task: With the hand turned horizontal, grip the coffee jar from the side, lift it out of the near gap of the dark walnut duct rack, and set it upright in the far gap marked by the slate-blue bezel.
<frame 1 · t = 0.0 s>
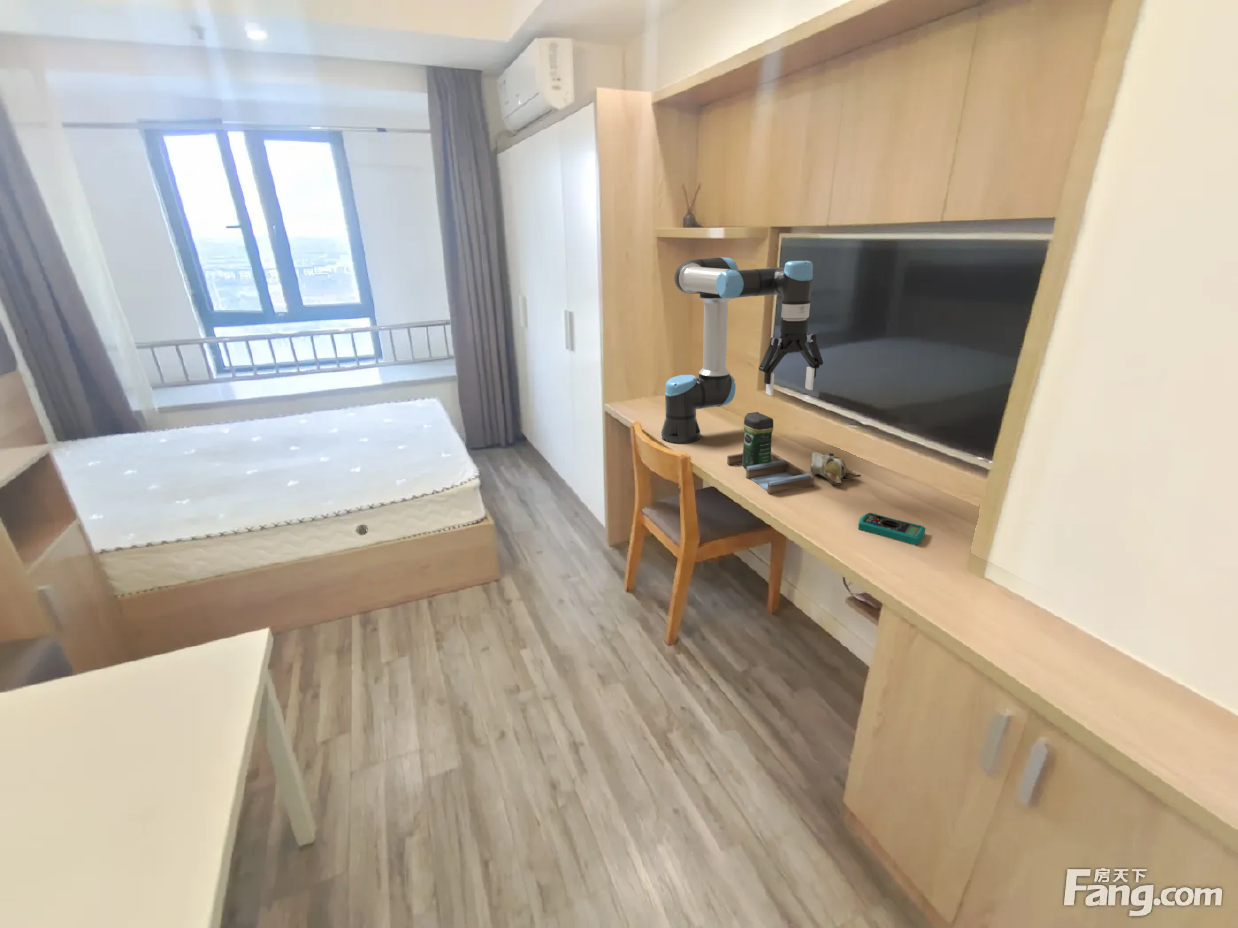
hand: (789, 391, 165), 28 cm above the table, fingers open, 13 cm apart
ceramic sculpture: (830, 479, 174), on the table
digital multimeter: (890, 533, 142), on the table
coffee jar: (756, 468, 184), resting in duct rack
duct rack: (766, 474, 179), on the table
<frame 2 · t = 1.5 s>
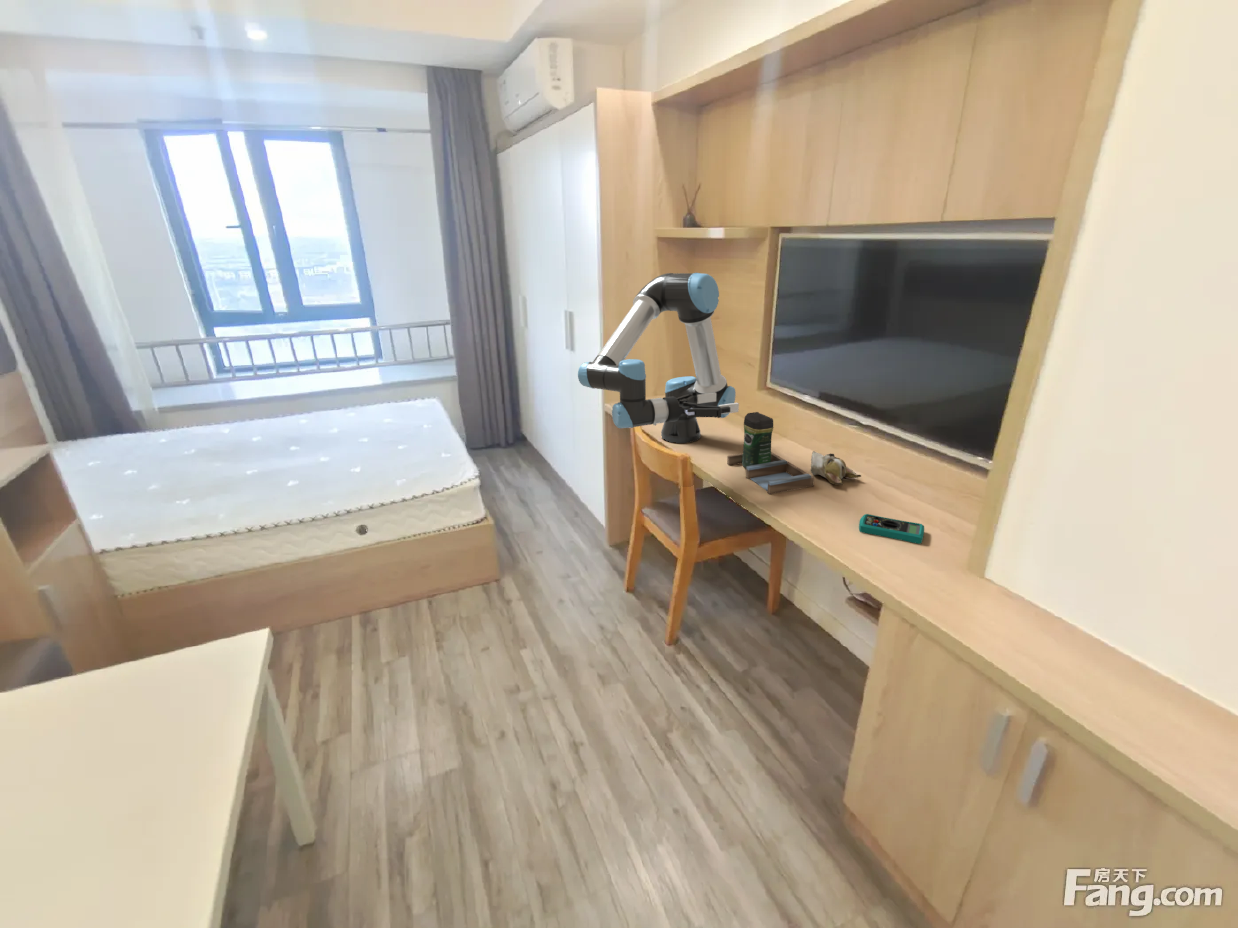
hand: (726, 402, 172), 24 cm above the table, fingers open, 13 cm apart
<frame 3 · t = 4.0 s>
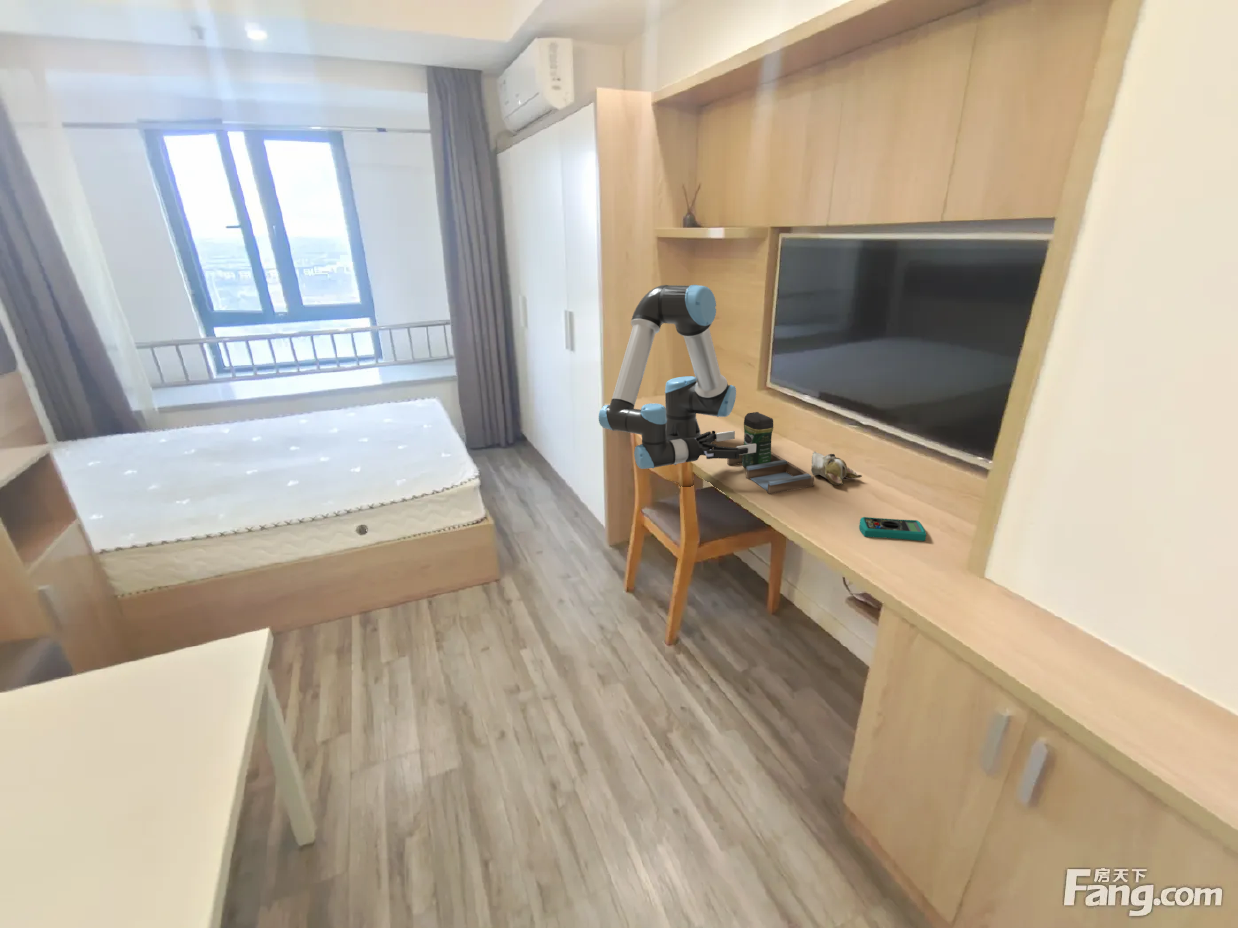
hand: (744, 441, 178), 10 cm above the table, fingers open, 13 cm apart
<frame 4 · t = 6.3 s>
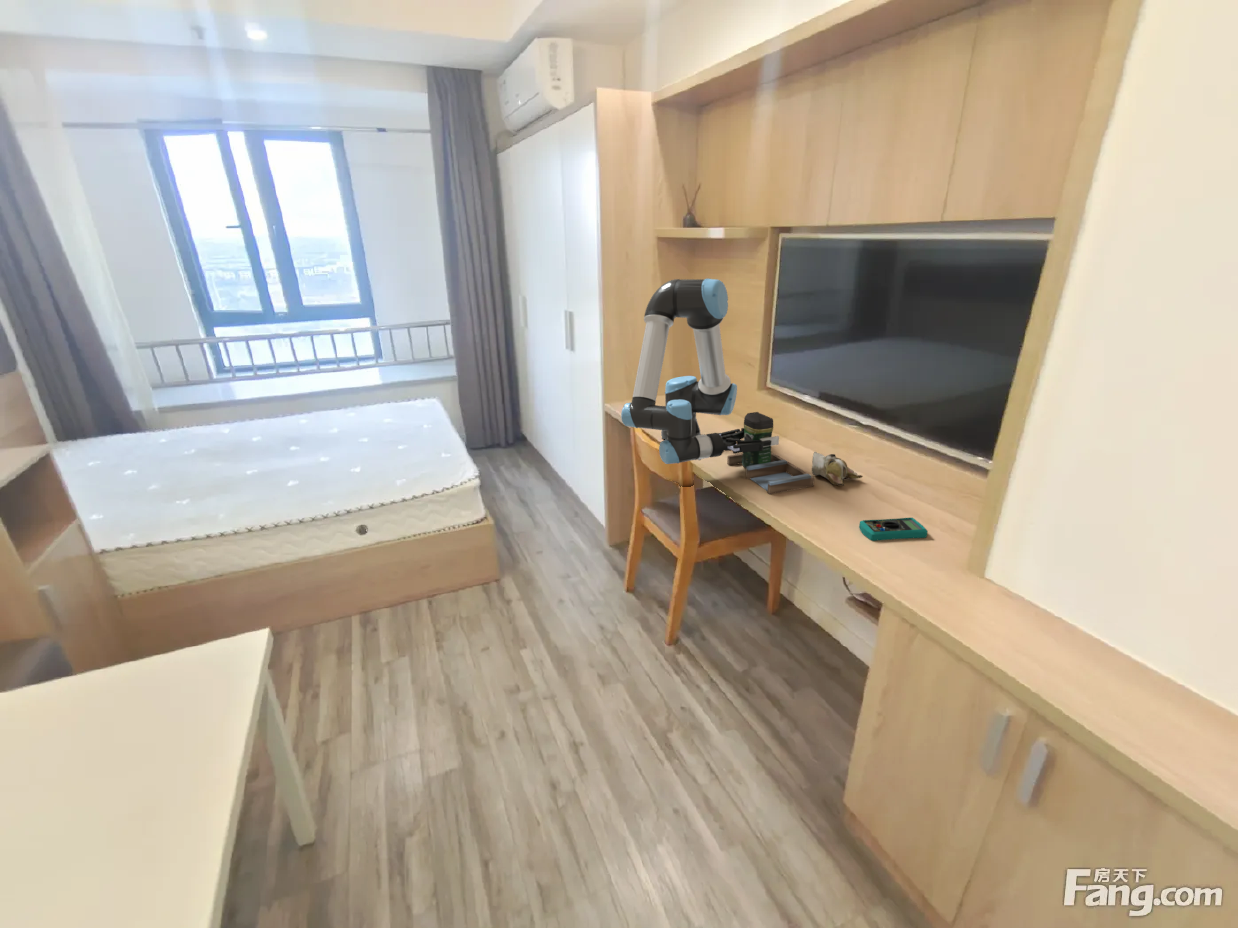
hand: (770, 436, 182), 11 cm above the table, fingers closed on coffee jar, 8 cm apart
coffee jar: (756, 468, 184), resting in duct rack, touching gripper
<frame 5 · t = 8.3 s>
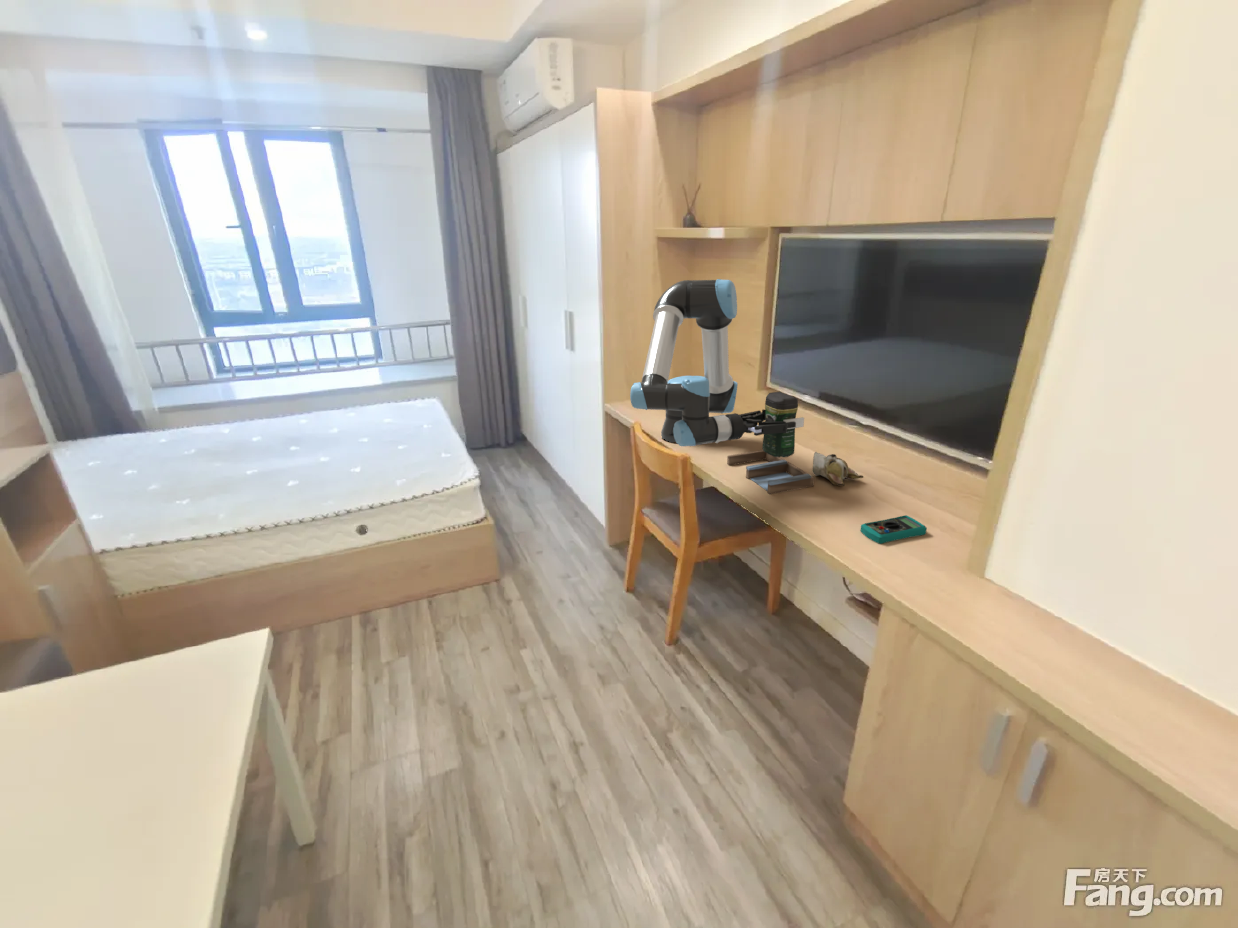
hand: (794, 418, 167), 20 cm above the table, fingers closed on coffee jar, 8 cm apart
coffee jar: (777, 453, 169), point 10 cm above the table, touching gripper
when the fingers open (12 cm above the table, at t = 10.3 s): coffee jar drops 1 cm, resting on duct rack.
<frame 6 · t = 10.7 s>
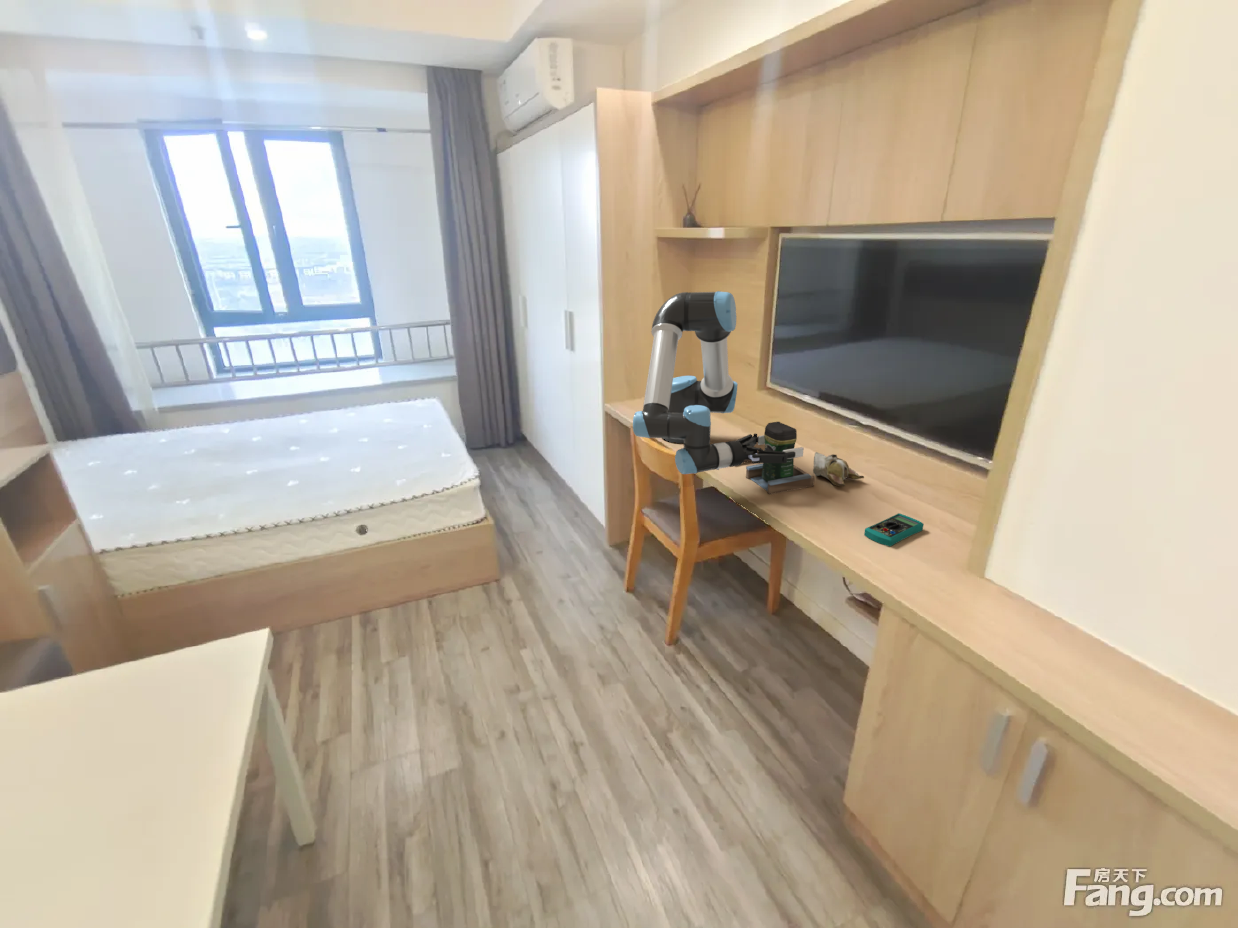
hand: (789, 444, 170), 12 cm above the table, fingers open, 13 cm apart
coffee jar: (776, 481, 173), resting on duct rack
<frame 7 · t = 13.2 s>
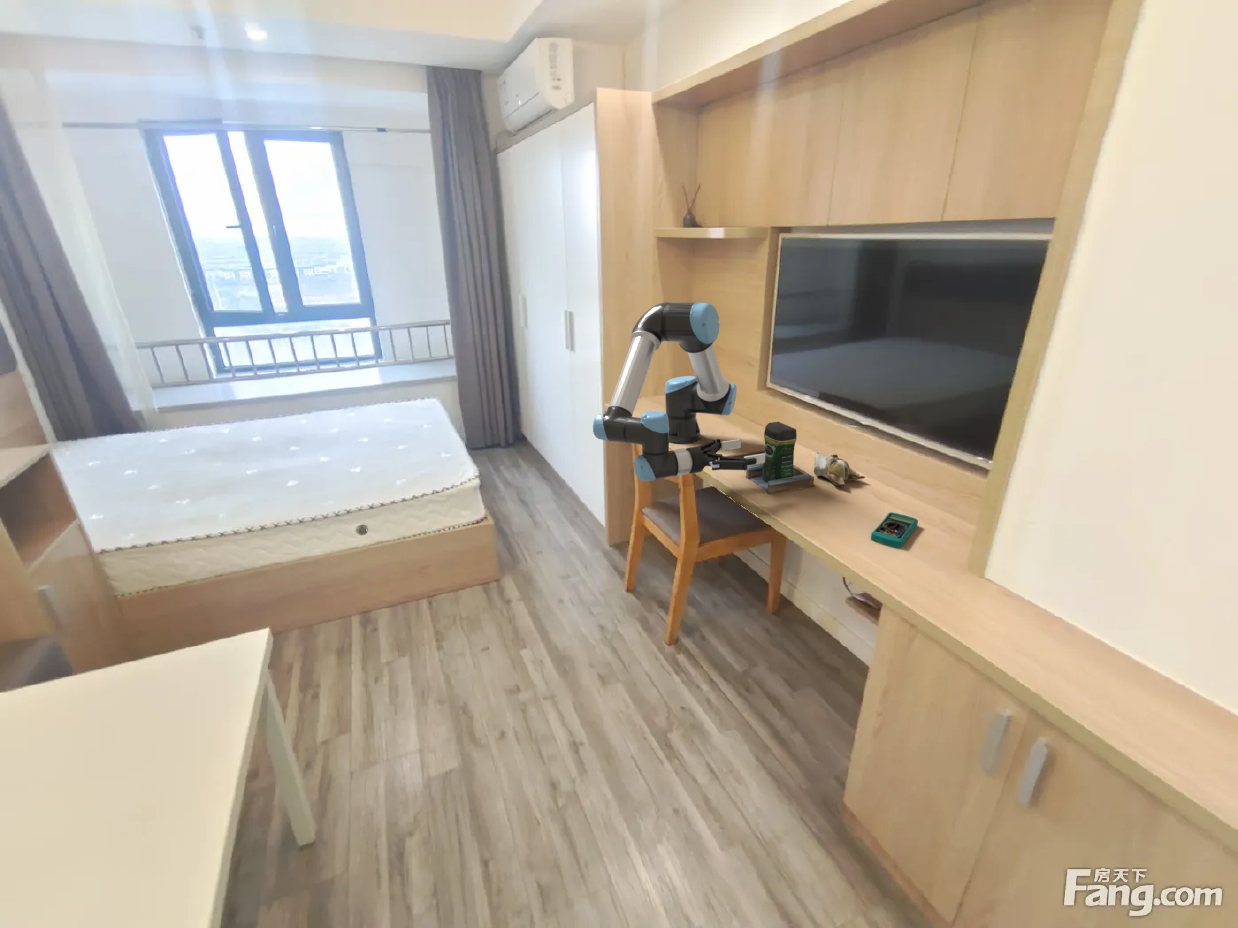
hand: (752, 450, 166), 12 cm above the table, fingers open, 13 cm apart
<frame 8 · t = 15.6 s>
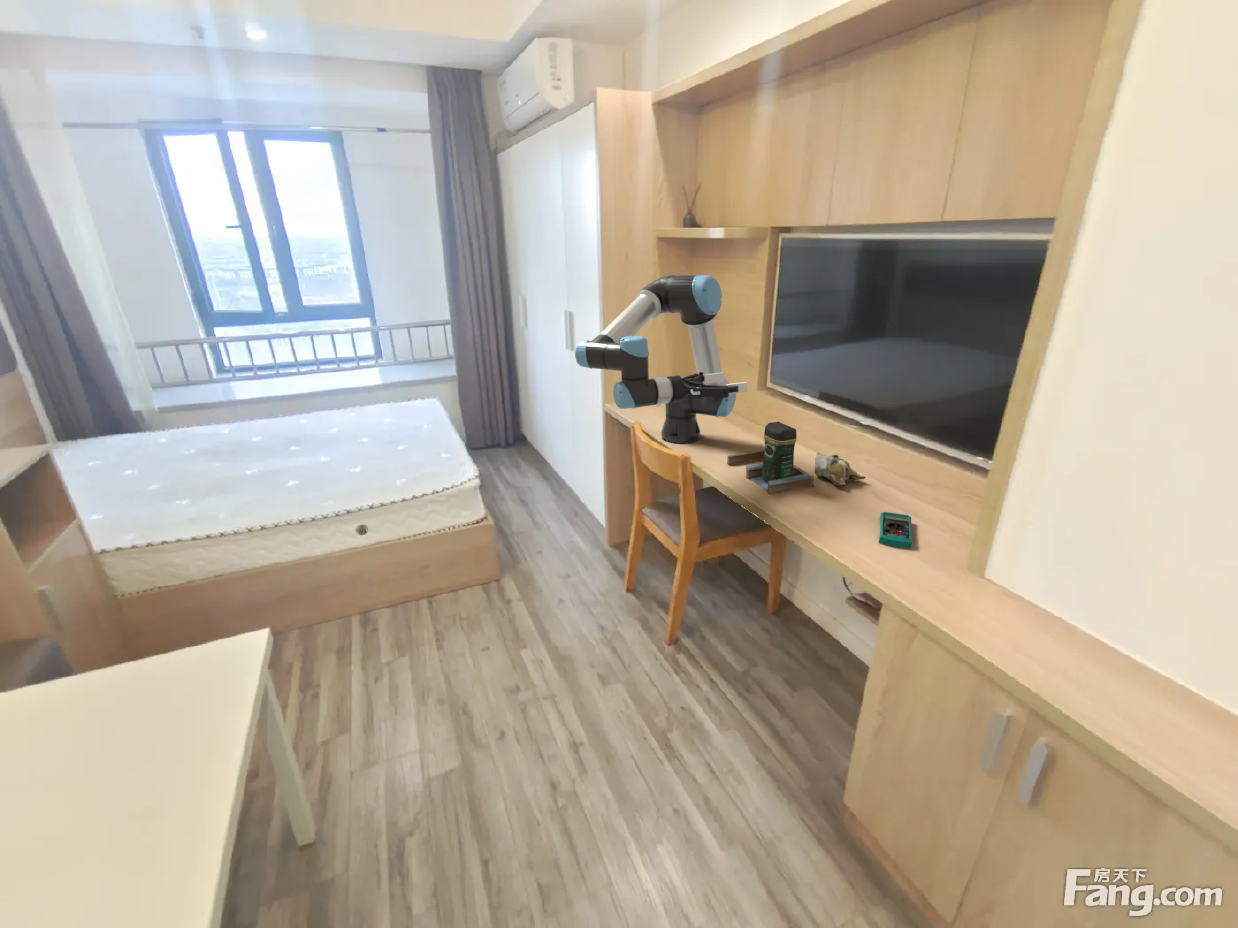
hand: (734, 381, 163), 32 cm above the table, fingers open, 13 cm apart
at the end: coffee jar inside the target area on the duct rack (0.1 cm from its centre), point 0.1 cm above the duct rack's base; coffee jar tilted 0°; the gripper is holding nothing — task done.
